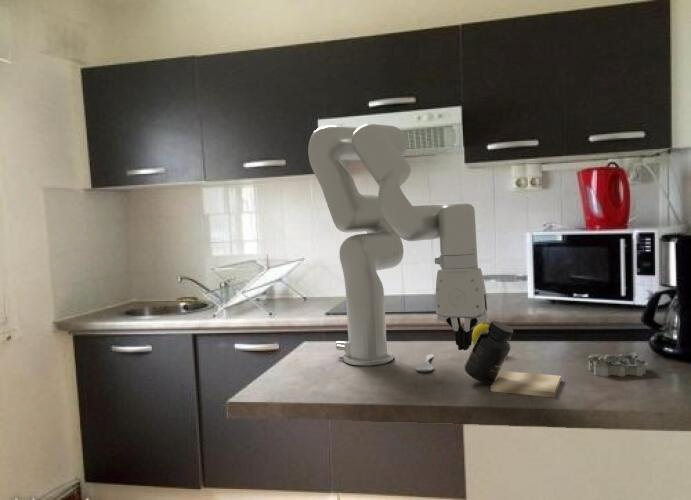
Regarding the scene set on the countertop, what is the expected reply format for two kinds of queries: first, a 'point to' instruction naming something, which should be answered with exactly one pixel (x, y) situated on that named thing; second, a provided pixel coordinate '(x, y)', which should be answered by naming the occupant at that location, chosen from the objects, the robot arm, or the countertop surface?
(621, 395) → the countertop surface
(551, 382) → the cutting board
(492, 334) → the supplement bottle
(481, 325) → the lemon
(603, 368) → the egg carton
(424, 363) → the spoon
